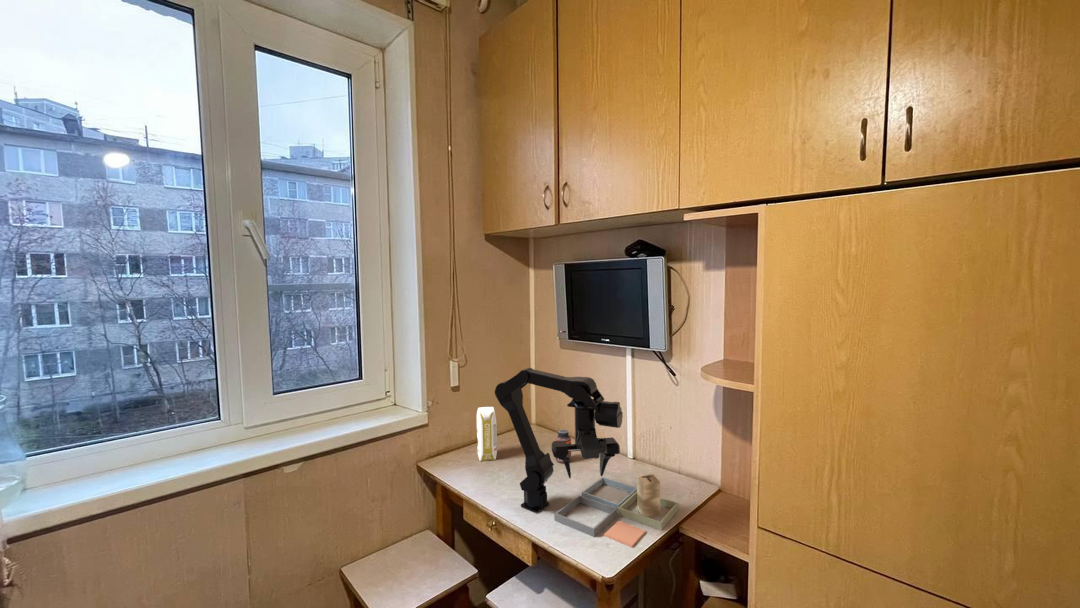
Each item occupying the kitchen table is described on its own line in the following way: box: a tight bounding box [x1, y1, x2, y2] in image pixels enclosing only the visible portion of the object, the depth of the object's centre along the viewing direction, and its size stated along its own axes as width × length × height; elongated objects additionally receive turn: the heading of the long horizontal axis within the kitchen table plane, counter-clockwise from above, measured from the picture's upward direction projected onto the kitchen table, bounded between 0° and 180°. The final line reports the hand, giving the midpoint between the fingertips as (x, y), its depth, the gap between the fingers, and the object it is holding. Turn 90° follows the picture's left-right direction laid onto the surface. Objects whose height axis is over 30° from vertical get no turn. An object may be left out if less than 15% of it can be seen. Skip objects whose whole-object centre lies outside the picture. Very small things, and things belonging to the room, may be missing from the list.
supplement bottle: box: [555, 429, 572, 464], centre depth 159 cm, size 6×6×11 cm
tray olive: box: [617, 491, 680, 531], centre depth 122 cm, size 13×13×2 cm
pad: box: [604, 520, 646, 548], centre depth 111 cm, size 8×8×1 cm
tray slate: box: [581, 476, 637, 512], centre depth 131 cm, size 13×13×2 cm
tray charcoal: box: [553, 494, 618, 538], centre depth 119 cm, size 13×13×2 cm
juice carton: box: [476, 406, 498, 462], centre depth 163 cm, size 8×9×19 cm
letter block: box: [636, 473, 661, 518], centre depth 121 cm, size 5×5×10 cm
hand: (585, 476), depth 119 cm, fingers open, 9 cm apart
